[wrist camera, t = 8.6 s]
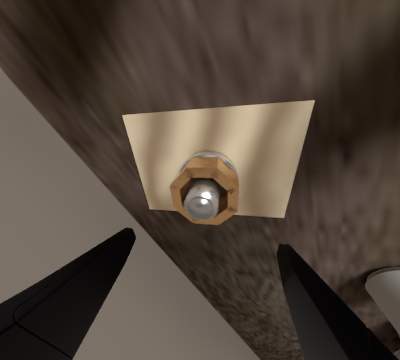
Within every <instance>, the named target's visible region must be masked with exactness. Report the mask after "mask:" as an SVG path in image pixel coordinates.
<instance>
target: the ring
mask: <svg viewBox="0 0 400 360" xmlns="http://www.w3.org/2000/svg"><path fill="white" fill-rule="evenodd" d="M191 178H213V179H215V180H216V181H217V182H218V183H219V184H220V185H221V186H222V187H224V188H225V189H226V190H227V191H228V193H226V194H225V195H224V196H222V197H221V198H220V199H219V206H218V212H217V214H216V216H215V217H213V218H212V219H209V220H197V219H194V218H193V217H191V216H190V215H189V214H188V213H187V212H186V210H185V208H184V201H185V199H186V197H187V195H188V192H189V187H188V181H189V180H190V179H191ZM170 191H171V196H172V201H173V206H174V209H176V210H177V211H178V212H180V213H181V214H182V215H183V216H185V217H186V218H187V219H189V220H190V221H191V222H192V223H198V224H211V225H219V224H221V223H222V222H224V221H225V220H227V219H228V218H230V217H231V216H233V215H234V214H236V213H237V212H238V199H239V182H238V174H237V173H236V172H235V171H234V170H233V169H232V168H231V167H229V166H228V165H227V164H226V163H225V162H224V161H223V160H222V159H221V158H220V157H193V158H192V159H191V160H190V162H189V163H188V164H187V165H186V166H185V167H184V168H183V169H182V170H181V172H180V173H179V174H178V175H177V177H176V178H175V179H174V181H173V182H172V183H171V185H170Z"/></svg>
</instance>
